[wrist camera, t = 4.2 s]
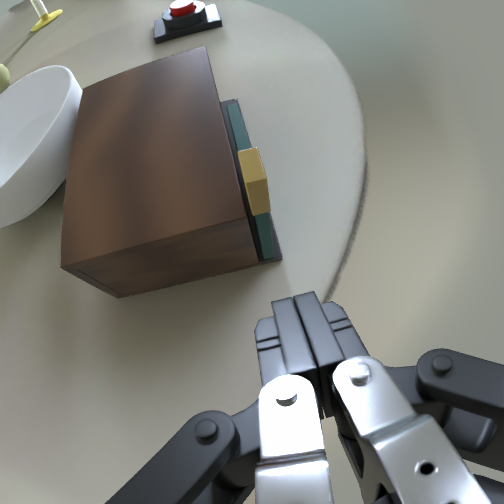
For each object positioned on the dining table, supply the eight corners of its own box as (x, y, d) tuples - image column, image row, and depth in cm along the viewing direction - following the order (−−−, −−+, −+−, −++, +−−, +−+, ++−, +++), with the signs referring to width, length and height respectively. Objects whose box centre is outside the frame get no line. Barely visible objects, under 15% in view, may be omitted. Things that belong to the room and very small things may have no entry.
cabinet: (237, 102, 31) (225, 41, 24) (282, 259, 25) (279, 209, 17) (115, 138, 32) (83, 88, 24) (117, 298, 25) (60, 267, 18)
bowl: (139, 124, 32) (108, 68, 24) (32, 277, 27) (-27, 245, 19) (52, 102, 37) (25, 64, 29) (-27, 210, 32) (-66, 182, 24)
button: (194, 5, 38) (192, -4, 36) (196, 13, 37) (193, 3, 35) (171, 11, 38) (168, 2, 36) (172, 19, 37) (169, 10, 35)
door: (250, 161, 27) (231, 67, 18) (276, 257, 24) (267, 178, 14) (238, 164, 27) (216, 71, 18) (262, 260, 24) (245, 183, 14)
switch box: (216, 9, 41) (213, -5, 38) (222, 26, 38) (219, 10, 36) (156, 25, 41) (151, 11, 38) (156, 44, 38) (150, 28, 36)
